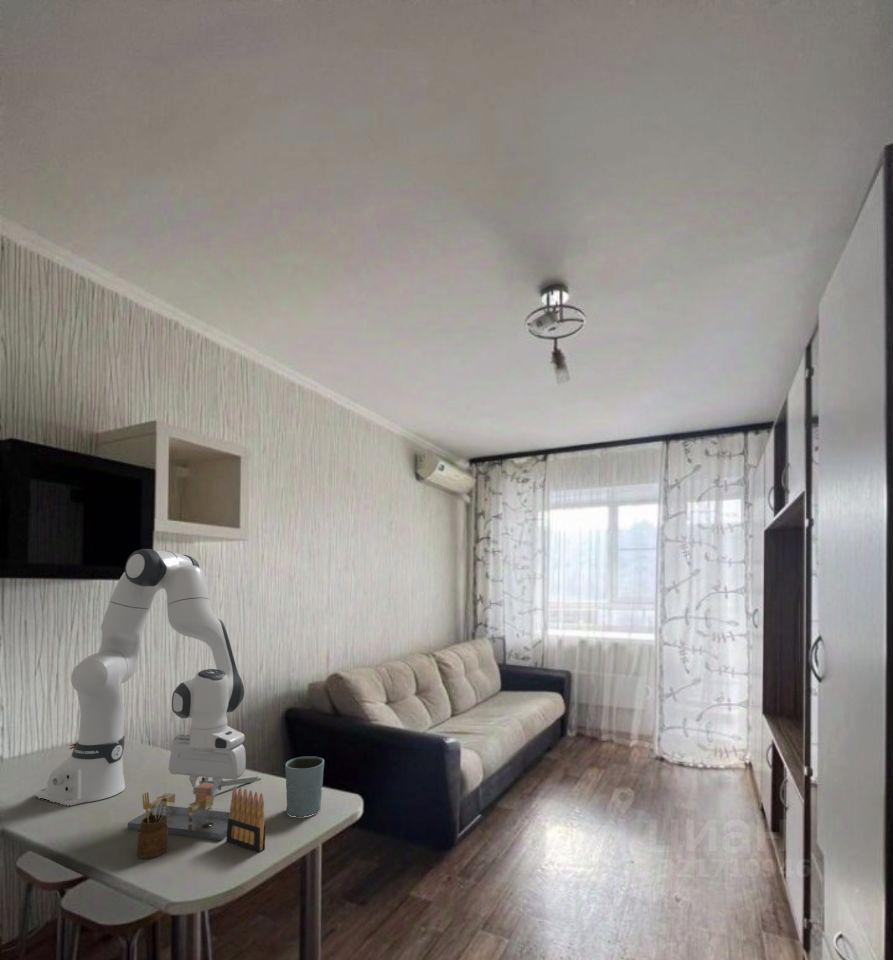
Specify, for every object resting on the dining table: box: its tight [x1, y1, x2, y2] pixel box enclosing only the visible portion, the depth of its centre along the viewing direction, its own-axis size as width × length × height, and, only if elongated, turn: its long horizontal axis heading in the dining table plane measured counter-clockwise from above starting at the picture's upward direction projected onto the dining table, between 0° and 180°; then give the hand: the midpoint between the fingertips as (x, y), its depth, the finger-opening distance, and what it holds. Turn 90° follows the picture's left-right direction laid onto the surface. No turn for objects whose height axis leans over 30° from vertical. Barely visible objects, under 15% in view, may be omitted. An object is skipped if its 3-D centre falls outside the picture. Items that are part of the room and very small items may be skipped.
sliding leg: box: [188, 783, 214, 822], centre depth 138 cm, size 3×7×6 cm, turn 167°
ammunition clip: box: [225, 785, 266, 854], centre depth 128 cm, size 11×2×12 cm, turn 61°
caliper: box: [199, 775, 262, 791], centre depth 159 cm, size 20×1×6 cm, turn 146°
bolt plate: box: [126, 792, 230, 841], centre depth 137 cm, size 26×10×5 cm, turn 77°
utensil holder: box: [136, 791, 169, 860], centre depth 125 cm, size 6×6×12 cm
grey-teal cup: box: [284, 755, 325, 817], centre depth 146 cm, size 10×10×12 cm
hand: (205, 794), depth 140 cm, fingers closed on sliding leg, 3 cm apart
